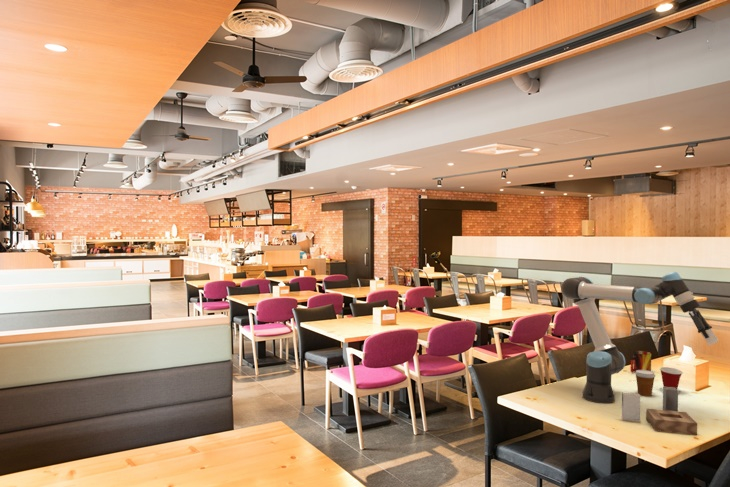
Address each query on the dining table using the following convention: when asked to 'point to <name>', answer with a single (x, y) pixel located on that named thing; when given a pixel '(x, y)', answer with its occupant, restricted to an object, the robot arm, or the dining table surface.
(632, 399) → the pale grey rectangular block
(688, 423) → the socket block
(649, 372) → the disposable coffee cup
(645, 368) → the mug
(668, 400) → the square steel bar
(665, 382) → the plastic cup
